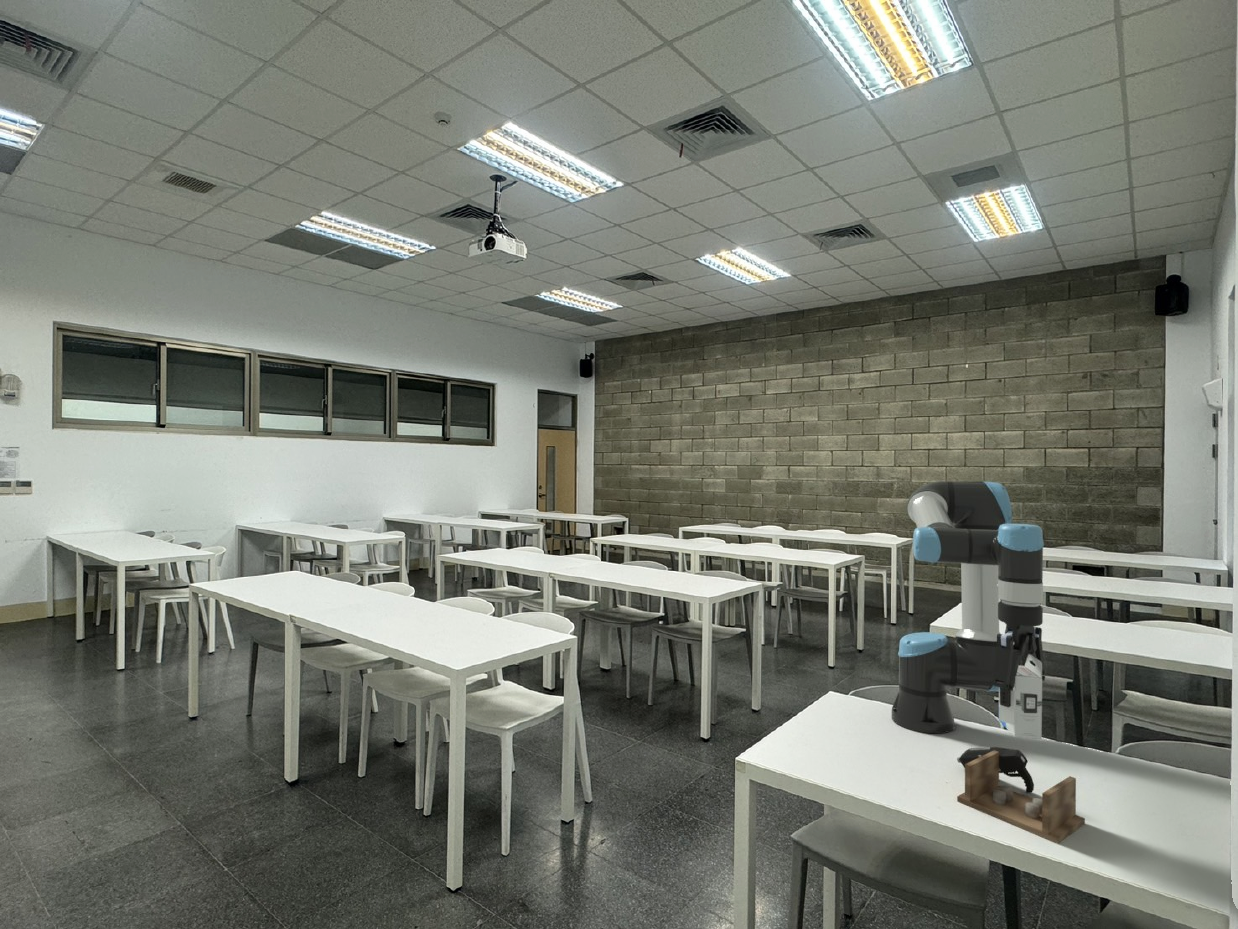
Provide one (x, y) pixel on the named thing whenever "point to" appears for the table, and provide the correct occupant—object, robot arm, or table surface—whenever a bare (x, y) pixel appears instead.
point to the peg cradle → (1021, 801)
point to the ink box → (1028, 701)
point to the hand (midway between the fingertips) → (1019, 717)
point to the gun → (1003, 762)
